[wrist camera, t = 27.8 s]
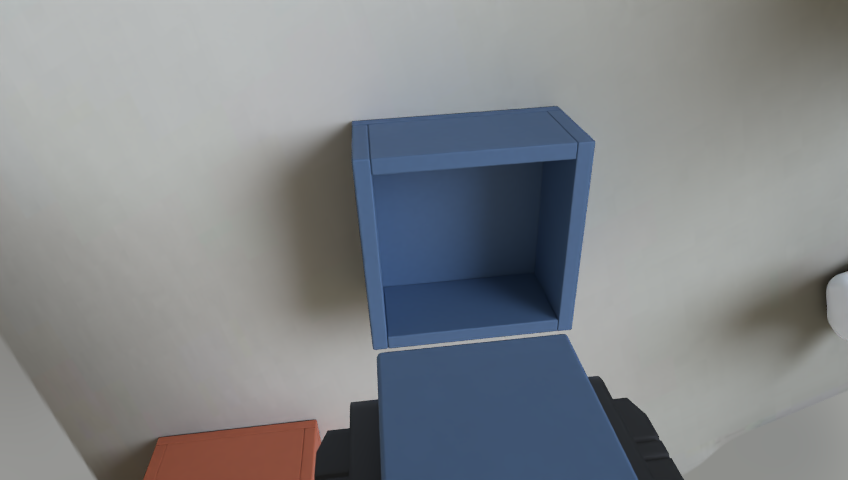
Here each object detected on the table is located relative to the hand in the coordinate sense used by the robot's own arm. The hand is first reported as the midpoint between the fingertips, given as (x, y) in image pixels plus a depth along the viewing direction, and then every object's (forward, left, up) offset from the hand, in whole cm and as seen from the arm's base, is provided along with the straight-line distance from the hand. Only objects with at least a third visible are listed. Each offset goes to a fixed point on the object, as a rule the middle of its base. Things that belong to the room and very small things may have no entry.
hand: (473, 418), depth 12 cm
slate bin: (+2, -3, -16) cm, 16 cm away
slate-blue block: (0, 0, 0) cm, 0 cm away
